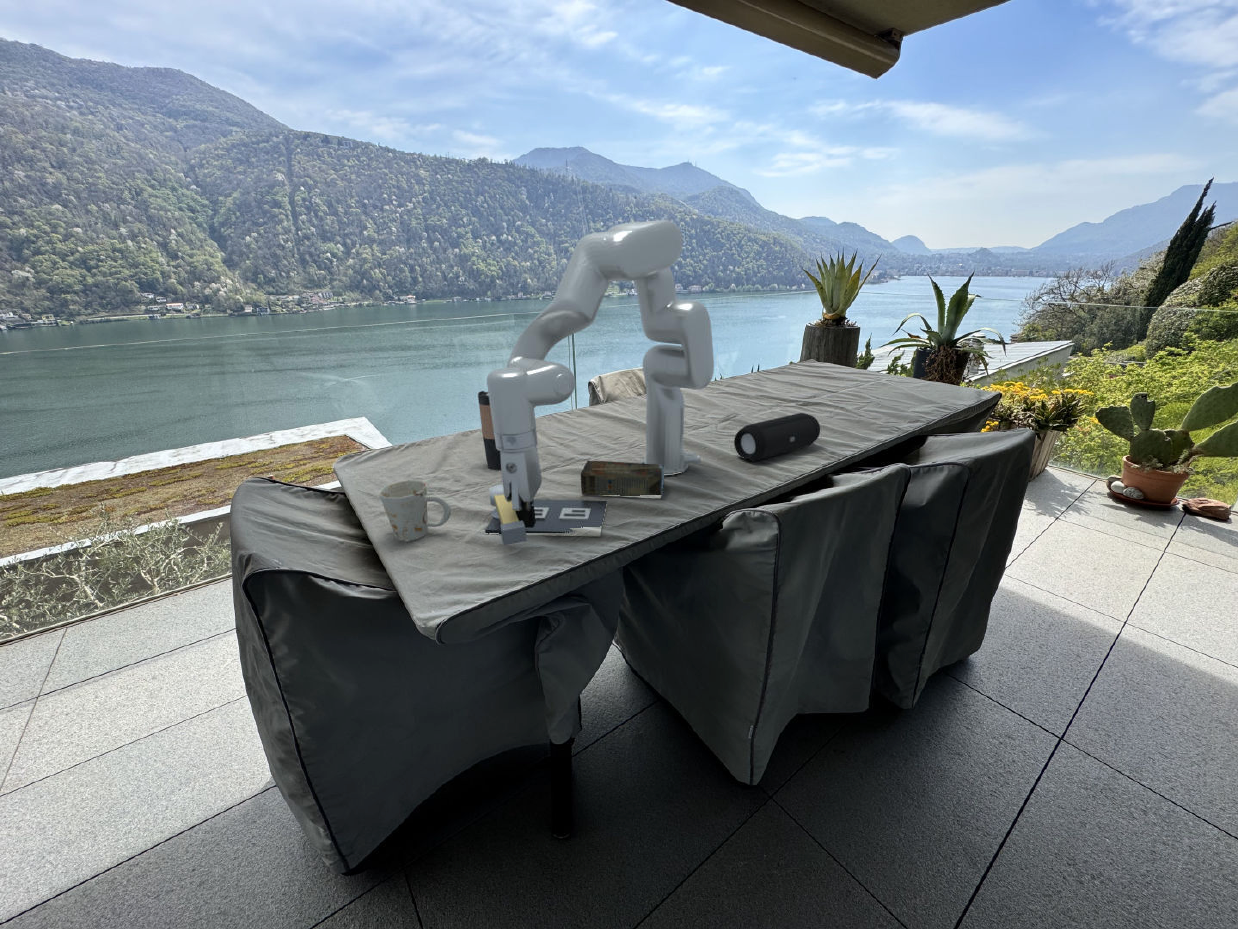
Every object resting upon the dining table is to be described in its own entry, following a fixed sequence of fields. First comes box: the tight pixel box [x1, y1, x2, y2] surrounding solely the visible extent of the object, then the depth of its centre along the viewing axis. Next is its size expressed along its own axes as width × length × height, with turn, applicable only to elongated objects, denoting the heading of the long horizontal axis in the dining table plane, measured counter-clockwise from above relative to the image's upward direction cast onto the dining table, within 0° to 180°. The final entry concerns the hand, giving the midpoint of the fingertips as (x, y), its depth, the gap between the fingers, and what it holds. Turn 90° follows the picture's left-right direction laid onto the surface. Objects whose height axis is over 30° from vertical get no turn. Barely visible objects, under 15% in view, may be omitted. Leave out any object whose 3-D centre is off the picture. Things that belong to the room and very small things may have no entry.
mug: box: [378, 479, 452, 541], centre depth 94 cm, size 8×13×10 cm, turn 95°
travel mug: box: [477, 390, 501, 471], centre depth 126 cm, size 8×8×20 cm
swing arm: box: [488, 484, 527, 546], centre depth 93 cm, size 20×4×3 cm, turn 21°
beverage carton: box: [580, 460, 665, 496], centre depth 112 cm, size 8×19×7 cm, turn 82°
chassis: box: [484, 498, 608, 535], centre depth 100 cm, size 24×14×4 cm, turn 86°
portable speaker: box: [733, 412, 821, 461], centre depth 133 cm, size 26×10×10 cm, turn 121°
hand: (527, 525), depth 94 cm, fingers closed
